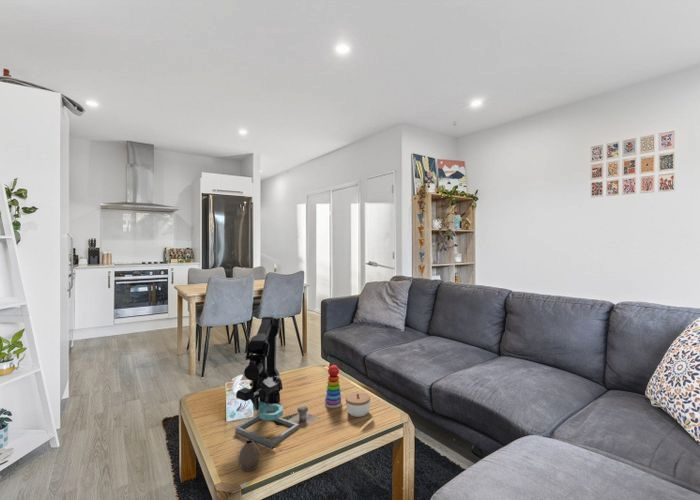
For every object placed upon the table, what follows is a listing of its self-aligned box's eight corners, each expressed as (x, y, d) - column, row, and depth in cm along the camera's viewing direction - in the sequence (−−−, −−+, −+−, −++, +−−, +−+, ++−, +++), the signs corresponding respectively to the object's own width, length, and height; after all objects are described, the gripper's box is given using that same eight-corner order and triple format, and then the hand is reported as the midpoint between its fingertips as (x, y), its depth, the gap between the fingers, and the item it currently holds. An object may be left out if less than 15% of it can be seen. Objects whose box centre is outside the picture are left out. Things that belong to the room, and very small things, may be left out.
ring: (246, 413, 137) (246, 406, 137) (263, 404, 145) (263, 397, 145) (271, 422, 130) (270, 414, 130) (287, 412, 137) (287, 405, 137)
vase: (241, 461, 119) (241, 436, 119) (261, 460, 120) (261, 435, 119) (236, 474, 112) (236, 448, 112) (258, 473, 113) (257, 446, 113)
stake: (285, 423, 143) (285, 410, 143) (301, 413, 152) (301, 401, 152) (304, 430, 138) (304, 417, 138) (319, 419, 146) (319, 406, 146)
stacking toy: (339, 410, 154) (339, 369, 153) (322, 409, 155) (322, 368, 155) (343, 402, 161) (343, 363, 161) (327, 401, 163) (326, 362, 163)
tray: (235, 433, 136) (235, 427, 136) (263, 417, 149) (263, 411, 149) (271, 449, 126) (271, 442, 126) (298, 430, 138) (298, 424, 138)
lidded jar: (340, 415, 150) (340, 394, 150) (357, 406, 158) (356, 386, 157) (359, 423, 142) (358, 401, 142) (375, 414, 150) (375, 393, 150)
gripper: (254, 382, 127) (255, 424, 127) (289, 366, 143) (290, 403, 143) (234, 376, 133) (235, 416, 133) (270, 361, 149) (271, 397, 149)
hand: (259, 408), depth 140 cm, fingers closed on ring, 2 cm apart
